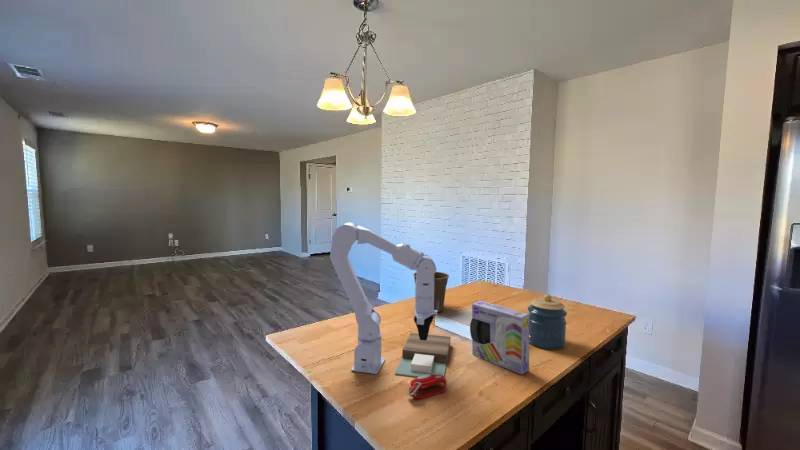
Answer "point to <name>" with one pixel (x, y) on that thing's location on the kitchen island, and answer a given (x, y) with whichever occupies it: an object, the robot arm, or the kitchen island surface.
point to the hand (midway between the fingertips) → (423, 339)
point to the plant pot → (439, 289)
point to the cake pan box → (500, 336)
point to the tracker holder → (426, 385)
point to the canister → (547, 323)
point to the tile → (422, 363)
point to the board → (427, 347)
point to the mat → (405, 370)
